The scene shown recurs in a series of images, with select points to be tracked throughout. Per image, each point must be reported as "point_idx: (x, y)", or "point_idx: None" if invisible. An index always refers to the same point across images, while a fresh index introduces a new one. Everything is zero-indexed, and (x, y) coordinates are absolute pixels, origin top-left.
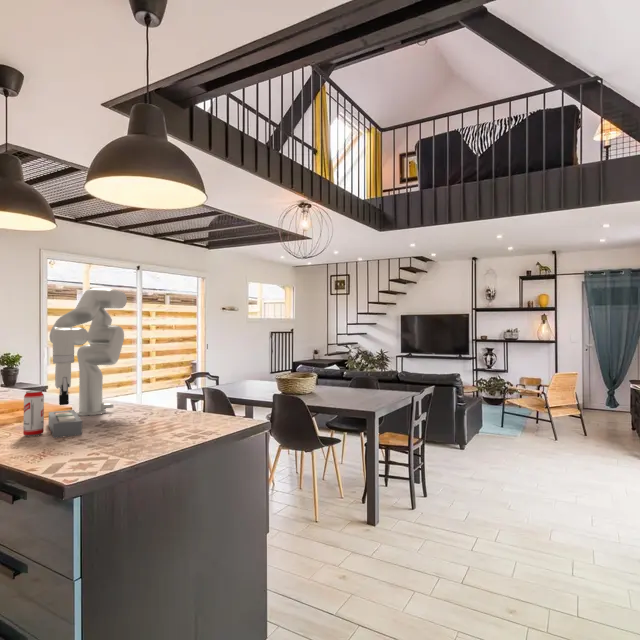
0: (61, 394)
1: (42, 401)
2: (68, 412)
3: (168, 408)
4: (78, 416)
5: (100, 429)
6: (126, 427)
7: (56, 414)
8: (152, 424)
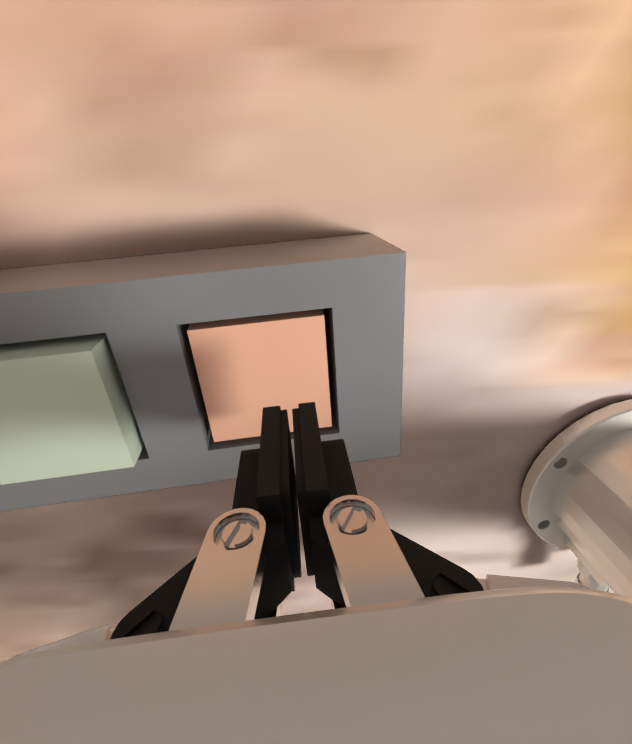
0: (210, 541)
1: None
2: None
3: None
4: (10, 508)
5: (31, 540)
6: (56, 631)
7: (223, 333)
8: None
